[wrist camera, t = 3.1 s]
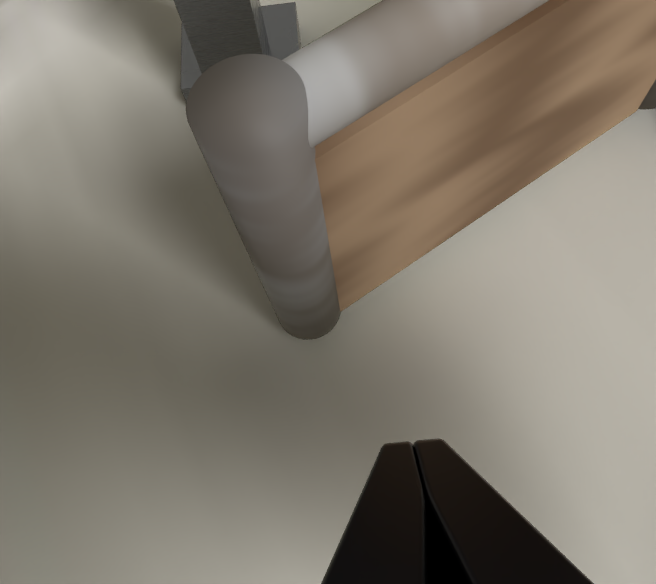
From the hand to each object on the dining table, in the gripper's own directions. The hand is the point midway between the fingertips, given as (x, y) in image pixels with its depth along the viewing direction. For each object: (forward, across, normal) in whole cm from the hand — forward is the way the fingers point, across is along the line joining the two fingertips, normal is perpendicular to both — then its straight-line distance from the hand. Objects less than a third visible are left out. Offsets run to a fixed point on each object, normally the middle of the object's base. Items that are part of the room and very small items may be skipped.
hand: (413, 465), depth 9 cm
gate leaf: (+11, -4, -1) cm, 11 cm away
